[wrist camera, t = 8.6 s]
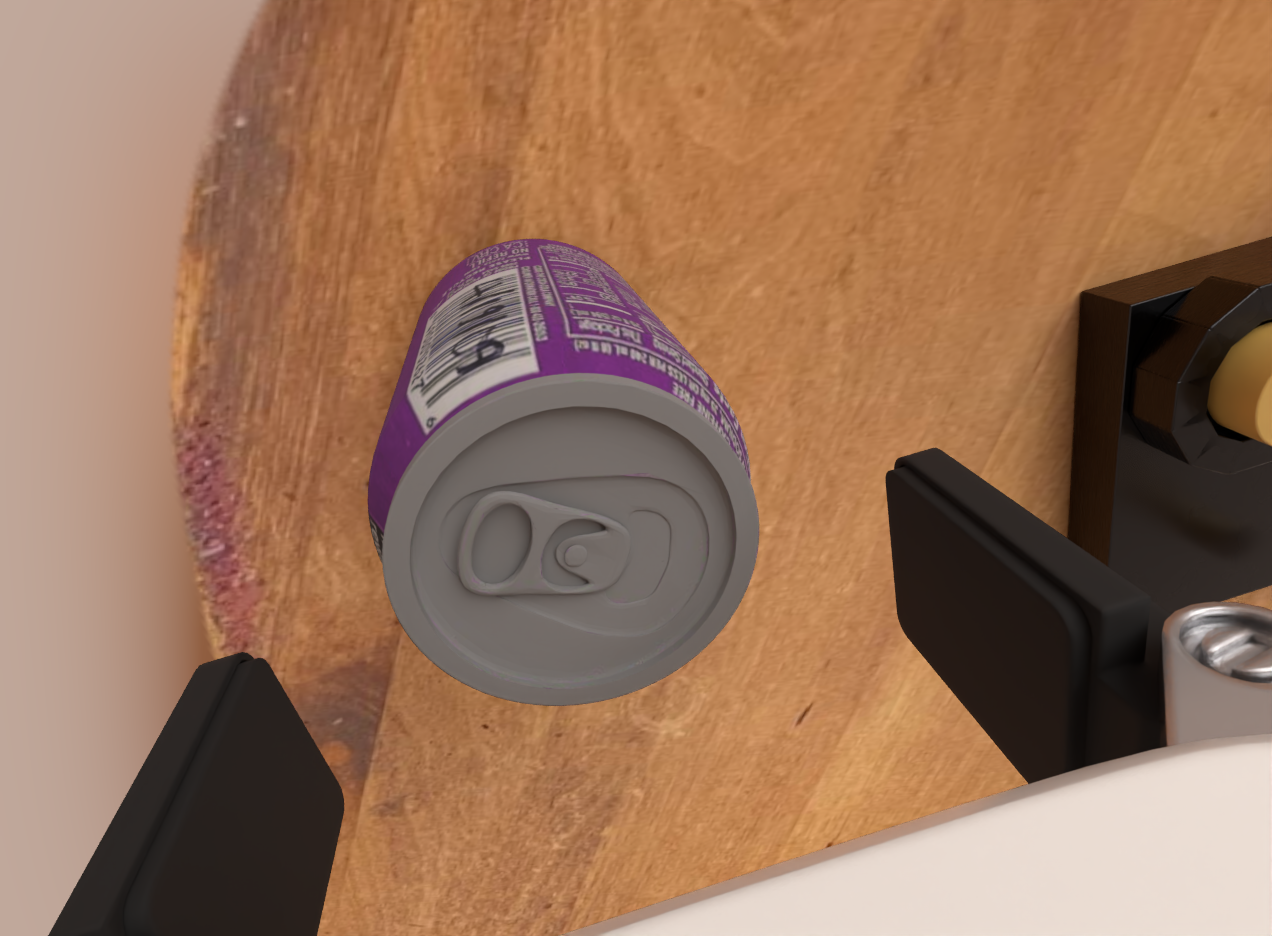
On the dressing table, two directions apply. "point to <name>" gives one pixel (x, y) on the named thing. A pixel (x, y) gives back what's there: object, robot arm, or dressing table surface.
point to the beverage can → (558, 484)
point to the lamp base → (1171, 432)
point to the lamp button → (1245, 387)
